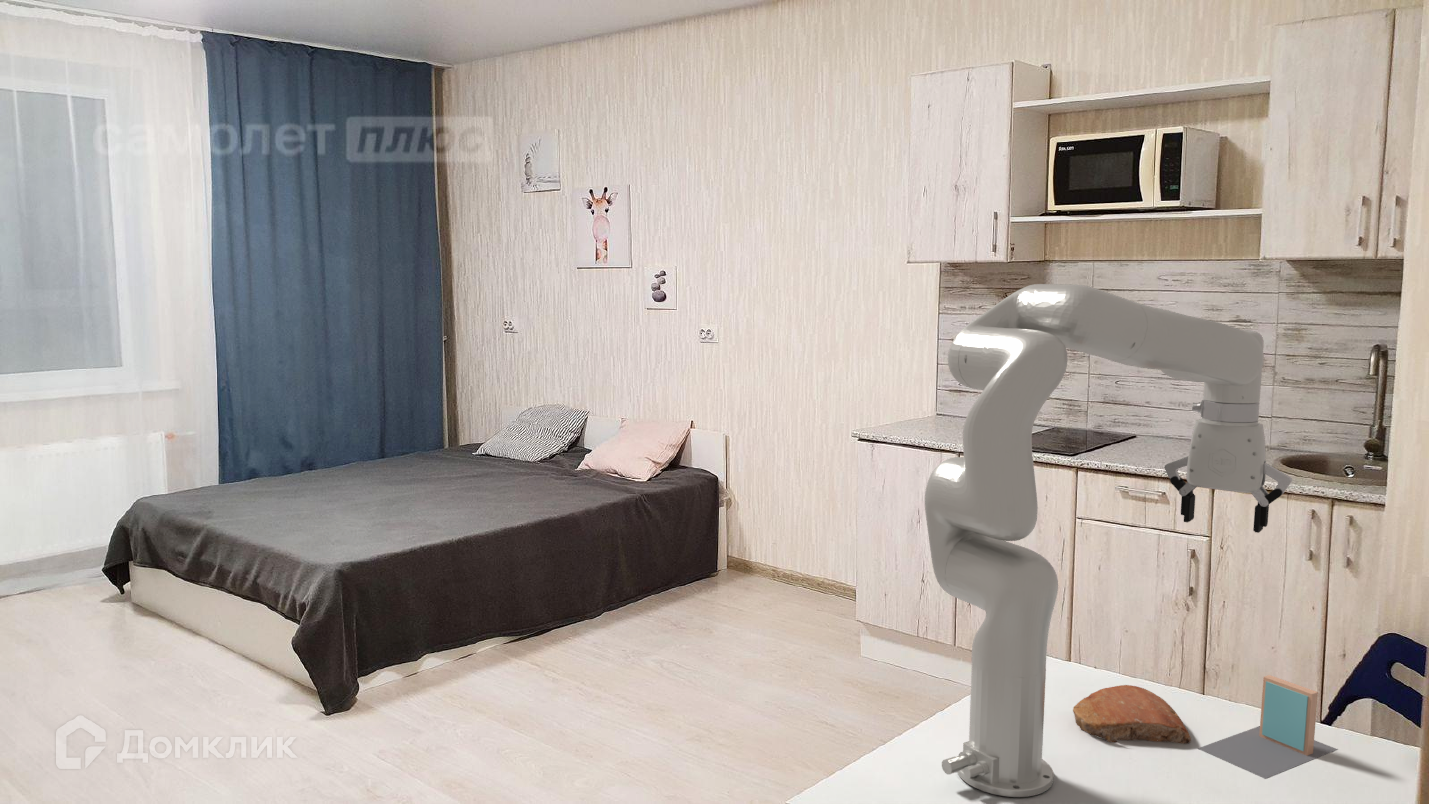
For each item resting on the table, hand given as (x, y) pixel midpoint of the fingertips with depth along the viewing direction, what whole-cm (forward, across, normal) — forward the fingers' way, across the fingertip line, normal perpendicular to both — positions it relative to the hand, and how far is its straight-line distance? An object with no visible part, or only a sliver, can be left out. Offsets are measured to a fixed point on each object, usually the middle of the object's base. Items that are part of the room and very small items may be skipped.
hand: (1222, 525), depth 154 cm
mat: (+29, +10, -9) cm, 32 cm away
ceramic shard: (+30, -9, -13) cm, 34 cm away
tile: (+29, +11, -6) cm, 32 cm away
